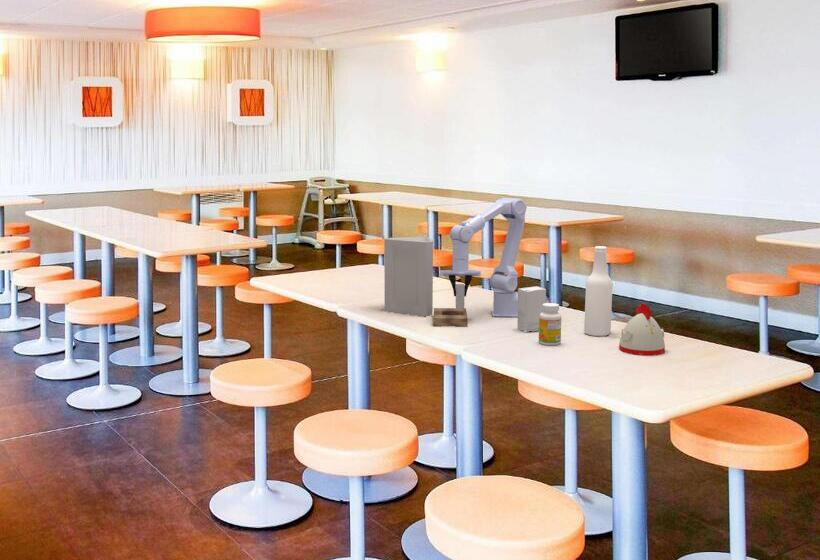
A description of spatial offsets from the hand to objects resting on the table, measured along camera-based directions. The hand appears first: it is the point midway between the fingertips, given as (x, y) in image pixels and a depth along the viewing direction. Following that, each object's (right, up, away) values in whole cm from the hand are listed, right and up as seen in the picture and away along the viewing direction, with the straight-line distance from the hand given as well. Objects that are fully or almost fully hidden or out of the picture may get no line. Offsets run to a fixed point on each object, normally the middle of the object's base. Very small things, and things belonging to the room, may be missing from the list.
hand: (459, 296), depth 312 cm
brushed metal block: (0, -4, +1) cm, 4 cm away
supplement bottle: (+28, -15, -30) cm, 43 cm away
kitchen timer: (+55, -17, -39) cm, 70 cm away
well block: (-3, -9, +2) cm, 10 cm away
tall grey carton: (-16, -6, +21) cm, 27 cm away
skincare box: (+24, -12, -11) cm, 29 cm away
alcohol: (+46, -13, -17) cm, 51 cm away
